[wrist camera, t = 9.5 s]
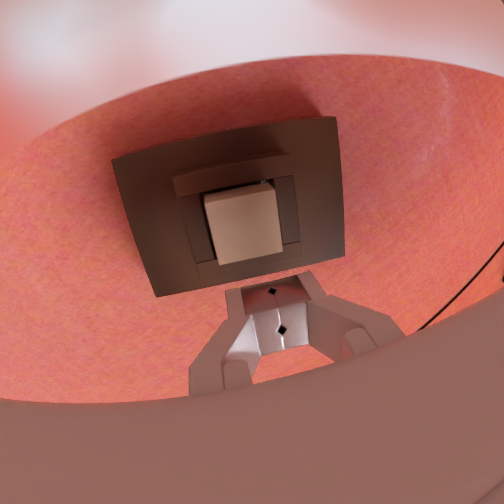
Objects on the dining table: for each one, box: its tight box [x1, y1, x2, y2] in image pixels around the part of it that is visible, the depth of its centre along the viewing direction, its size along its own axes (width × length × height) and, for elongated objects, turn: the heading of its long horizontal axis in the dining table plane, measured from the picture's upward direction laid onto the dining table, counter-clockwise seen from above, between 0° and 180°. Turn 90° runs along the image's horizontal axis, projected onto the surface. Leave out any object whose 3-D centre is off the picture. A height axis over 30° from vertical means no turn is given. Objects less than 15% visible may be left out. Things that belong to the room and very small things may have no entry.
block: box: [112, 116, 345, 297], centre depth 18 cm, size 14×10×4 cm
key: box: [205, 182, 283, 265], centre depth 16 cm, size 4×4×2 cm
